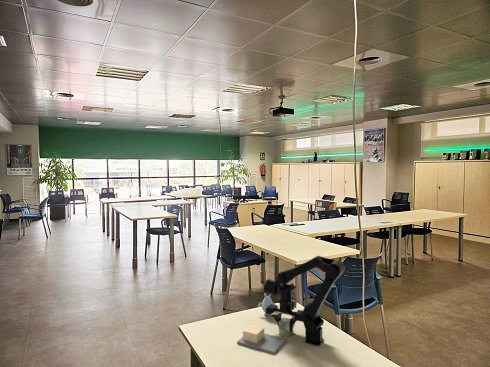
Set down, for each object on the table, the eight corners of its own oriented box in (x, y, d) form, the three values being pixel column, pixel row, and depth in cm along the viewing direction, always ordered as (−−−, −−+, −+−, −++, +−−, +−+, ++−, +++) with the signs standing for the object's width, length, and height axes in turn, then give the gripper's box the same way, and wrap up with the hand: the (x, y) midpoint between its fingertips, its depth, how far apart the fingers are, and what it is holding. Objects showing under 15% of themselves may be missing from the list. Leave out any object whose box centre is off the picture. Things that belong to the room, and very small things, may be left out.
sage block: (293, 332, 157) (293, 319, 157) (289, 336, 153) (288, 323, 153) (283, 329, 160) (283, 317, 160) (279, 334, 155) (278, 321, 155)
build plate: (286, 341, 149) (285, 330, 149) (274, 354, 138) (274, 342, 138) (250, 332, 158) (250, 321, 158) (237, 343, 148) (237, 332, 147)
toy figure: (278, 313, 177) (278, 291, 177) (276, 318, 171) (276, 295, 171) (259, 311, 180) (258, 289, 180) (256, 316, 174) (256, 294, 174)
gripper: (310, 295, 158) (311, 327, 159) (274, 288, 167) (275, 319, 168) (302, 303, 148) (302, 338, 149) (264, 296, 158) (265, 328, 158)
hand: (286, 330), depth 156 cm, fingers closed on sage block, 5 cm apart
